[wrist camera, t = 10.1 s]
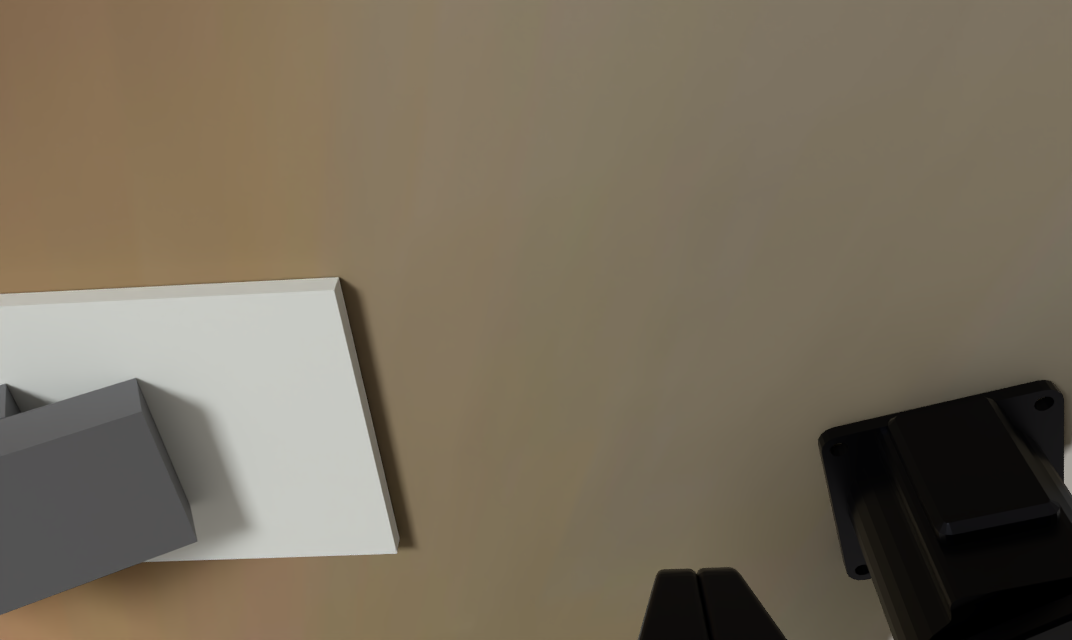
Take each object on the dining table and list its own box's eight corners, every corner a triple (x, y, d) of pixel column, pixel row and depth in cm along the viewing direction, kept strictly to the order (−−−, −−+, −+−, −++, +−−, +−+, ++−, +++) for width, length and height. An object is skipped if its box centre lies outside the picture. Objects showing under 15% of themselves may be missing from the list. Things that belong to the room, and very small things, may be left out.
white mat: (338, 277, 23) (333, 289, 22) (399, 538, 28) (397, 553, 28) (-395, 314, 24) (-415, 326, 23) (-193, 559, 30) (-206, 573, 29)
